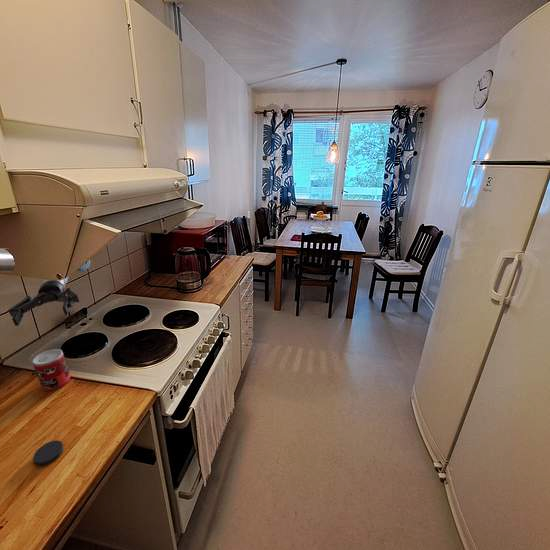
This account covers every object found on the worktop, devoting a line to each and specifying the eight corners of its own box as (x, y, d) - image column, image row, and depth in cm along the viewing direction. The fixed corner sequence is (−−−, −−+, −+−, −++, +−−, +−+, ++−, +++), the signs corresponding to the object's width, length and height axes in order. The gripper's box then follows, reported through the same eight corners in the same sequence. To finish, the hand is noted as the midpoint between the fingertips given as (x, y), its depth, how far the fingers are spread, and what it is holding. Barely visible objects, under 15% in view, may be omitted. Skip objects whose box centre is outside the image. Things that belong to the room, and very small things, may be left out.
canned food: (36, 389, 93) (25, 362, 89) (58, 372, 101) (49, 347, 97) (55, 393, 92) (45, 366, 88) (76, 376, 99) (68, 350, 95)
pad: (28, 465, 70) (26, 462, 70) (46, 443, 76) (45, 440, 76) (52, 466, 70) (51, 463, 70) (69, 443, 76) (67, 440, 76)
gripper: (91, 289, 118) (87, 315, 101) (16, 305, 108) (-2, 336, 91) (86, 273, 115) (80, 297, 98) (8, 288, 105) (-13, 317, 88)
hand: (40, 316), depth 95 cm, fingers open, 13 cm apart
